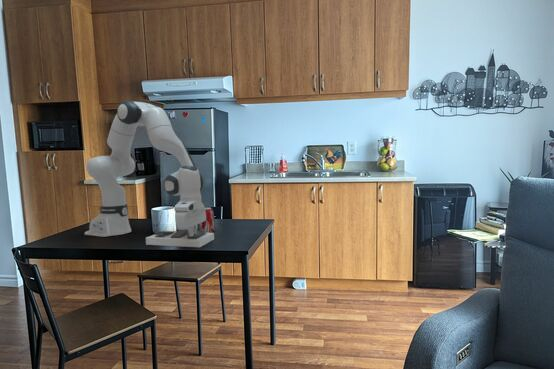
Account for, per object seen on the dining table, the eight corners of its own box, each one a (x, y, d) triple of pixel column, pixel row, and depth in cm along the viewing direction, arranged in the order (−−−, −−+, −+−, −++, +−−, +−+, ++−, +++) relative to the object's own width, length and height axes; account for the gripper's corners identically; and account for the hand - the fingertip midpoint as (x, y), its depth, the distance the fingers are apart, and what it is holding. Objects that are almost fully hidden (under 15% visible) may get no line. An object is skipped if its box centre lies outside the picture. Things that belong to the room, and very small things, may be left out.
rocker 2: (187, 238, 162) (187, 235, 162) (197, 233, 171) (197, 230, 170) (195, 239, 161) (195, 235, 161) (205, 234, 169) (205, 230, 169)
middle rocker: (171, 239, 164) (170, 236, 164) (181, 231, 173) (180, 228, 172) (179, 240, 163) (178, 237, 163) (189, 231, 172) (188, 228, 171)
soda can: (211, 233, 182) (210, 209, 181) (197, 233, 184) (196, 209, 183) (216, 230, 189) (215, 207, 188) (203, 230, 191) (202, 207, 189)
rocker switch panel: (146, 244, 165) (145, 237, 165) (164, 237, 178) (163, 230, 178) (199, 247, 158) (199, 240, 158) (214, 239, 171) (213, 232, 171)
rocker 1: (155, 235, 166) (155, 231, 166) (166, 234, 175) (166, 231, 175) (162, 235, 165) (163, 231, 165) (173, 235, 174) (174, 231, 174)
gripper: (196, 200, 172) (197, 230, 173) (171, 207, 152) (173, 241, 153) (208, 200, 170) (210, 230, 171) (185, 207, 150) (187, 241, 152)
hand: (192, 235), depth 162 cm, fingers closed, pressing on rocker 2
